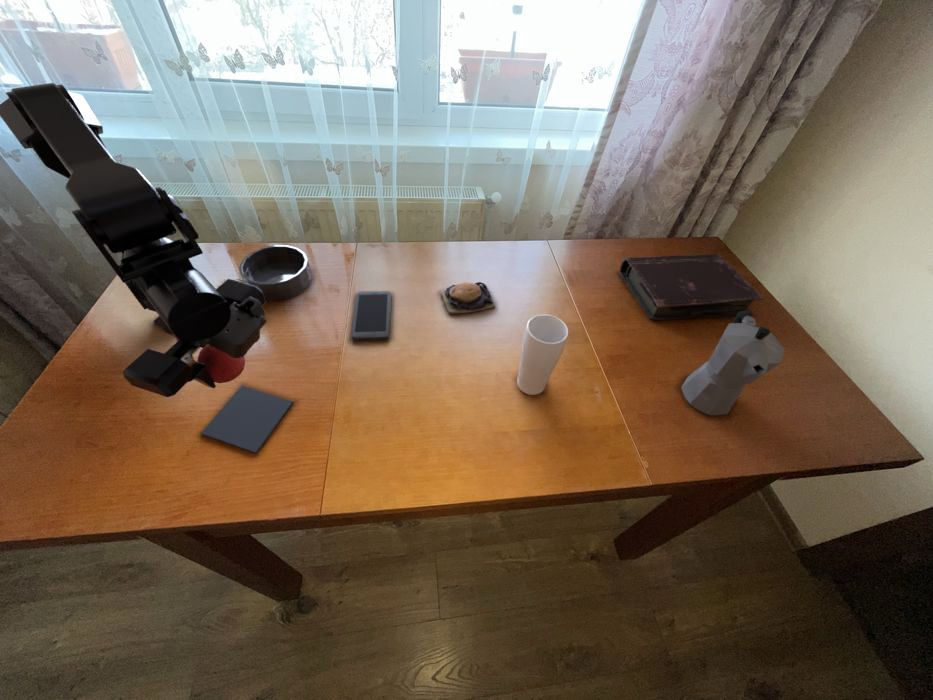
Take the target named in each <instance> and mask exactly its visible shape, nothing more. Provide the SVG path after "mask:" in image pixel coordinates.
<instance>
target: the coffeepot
mask: <svg viewBox="0 0 933 700" xmlns="http://www.w3.org/2000/svg"><path fill="white" fill-rule="evenodd" d="M753 316H754V315H753V312H752V311H751V310H749V309H748V310H746V311H741V312H739V313H738V314H737V315H735V316H734V319H733V321H732V322H731V323H730V322H729V323H728V325H727V326H726V328H725V330H724V332H723V334H722V335H721V337H720V339H719V341H718V343H717V345H716V346H715V348H714V350H713V353H712V354H711V356H710V358H709V359H708V360H707V361H705V363H703V364H702V365H701V366H700V367H698V368H697V369H696V370H694V371H692V373H690V375H688V376H687V377H686V378H685V381H684V382H683V384H682V386H681V387H680V389H681V392H682V394H683V397H684V398H685V400H686V402H687V403H688V404H689V405H690V406H691V407H692V408H694V409H695V410H697V411H699V412H701V413H703V414H705V415H708V416H715V417H716V416H723V415H728V414H729V412H730V411H731V409H732V408H733V406H734V405H735V403H736V401H737V400H738V398H739V396H740V395H741V393H742V391H743V389H744V388H745V386H747V385H750V384H753V383H754V382H755V381H757V380H758V379H760V378H761V377H763V376H764V375H766V374H767V373H769V372H770V371H771V370H773V369H774V368H776V367H778V366H779V365H781V363H782V361H783V358H784V355H785V353H786V349H785V348H784V346H783V345H782V343H780V341H779V340H778V339H777V337H775V335H774V334H773V333H771V330H769V328H768V327H765V326H756V324H757V323H756V318H755V317H753Z"/></svg>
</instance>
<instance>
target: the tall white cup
mask: <svg viewBox="0 0 933 700" xmlns="http://www.w3.org/2000/svg"><path fill="white" fill-rule="evenodd" d="M568 337H569V328H568V326H567V324H566V323H565V322H564V321H563V320H562V319H560V317H557V316H554V315H553V314H552V315H551V314H545V313H543V314H537V315H534V316H532V317H530V319H529V320H528V321H527V323H526V326H525V329H524V333H523V336H522V340H521V341H522V342H521V349H520V358H519V365H518V374H517V377H516V385H517V387H518V389H519V390H520V391H521V392H522V393H524V394H526V395H529V396H536V395H537V396H538V395H539V394H541V393H543V391H544V390H545V388H546V386H547V383H548V382H549V379H550V378H551V375H552V374H553V371H554V370H555V368H556V366H557V364H558V362H559V360H560V358H561V356H562V354H563V352H564V349H565V346H566V343H567V340H568Z"/></svg>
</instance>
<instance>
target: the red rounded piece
mask: <svg viewBox="0 0 933 700" xmlns="http://www.w3.org/2000/svg"><path fill="white" fill-rule="evenodd" d="M196 362H199V363H203V364H206V365H207V366H206V367H205V368H204V370H205V371H206V372H207V373H208V375H209V376H210V377H211V379H212V380H213V381H214V383H215V384H216V383H217V384H225V383H229V382H231V381H234V380H235V379H237V378H238V377H239V376H240V375H242V373H243V371H244V369H245V366H246V357H245V355H244V356H243V357H241V358H233V357H231V356H229V355H228V354H226V353H224V352H222V351H220V350H218V349H216V348H214V347H212V346H210V345H209V344H207V345H206V346H205V347H204V348H201V350H200V351H199V352H198V356H197V359H196Z"/></svg>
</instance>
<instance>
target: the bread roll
mask: <svg viewBox="0 0 933 700" xmlns="http://www.w3.org/2000/svg"><path fill="white" fill-rule="evenodd" d="M440 291H441V292H440V295H441V297H442V299H443V302H444V306H445V308H446V309H447V313H448V315H454V314H455V315H456V314H467V313H474V312H479V311H481V312H482V311H484V310H489V309H492V308H494V307H495V303H494V301H493V299H492V294H490V290H489V289H488V287H487V285H486V284H485V283H484V282H481V281H478V282H475V283H473V282H466V281H465V282H461V283H457V284H452V285H450V286H448V287H447V288H446V289H443V290H440Z"/></svg>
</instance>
